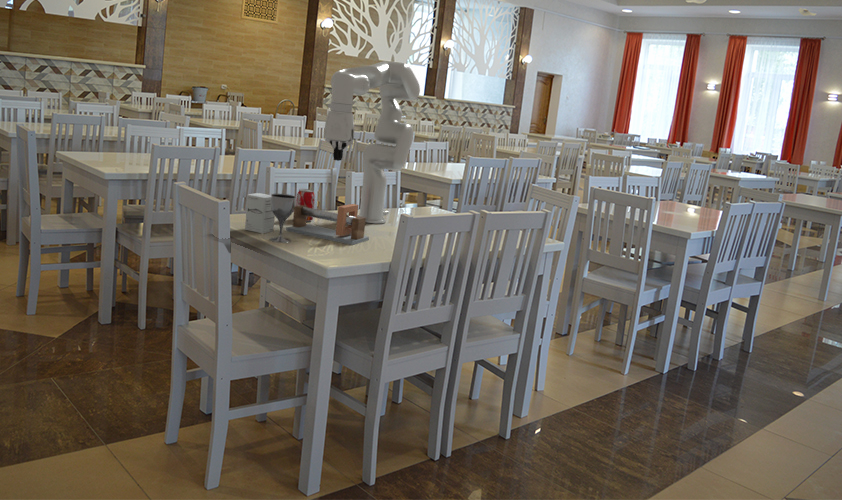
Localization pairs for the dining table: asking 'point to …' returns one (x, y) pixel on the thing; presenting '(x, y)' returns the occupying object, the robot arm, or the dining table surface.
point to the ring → (341, 219)
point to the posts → (357, 223)
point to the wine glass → (282, 211)
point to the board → (325, 234)
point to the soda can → (306, 200)
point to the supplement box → (259, 213)
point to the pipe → (324, 215)
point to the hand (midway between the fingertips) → (337, 160)
